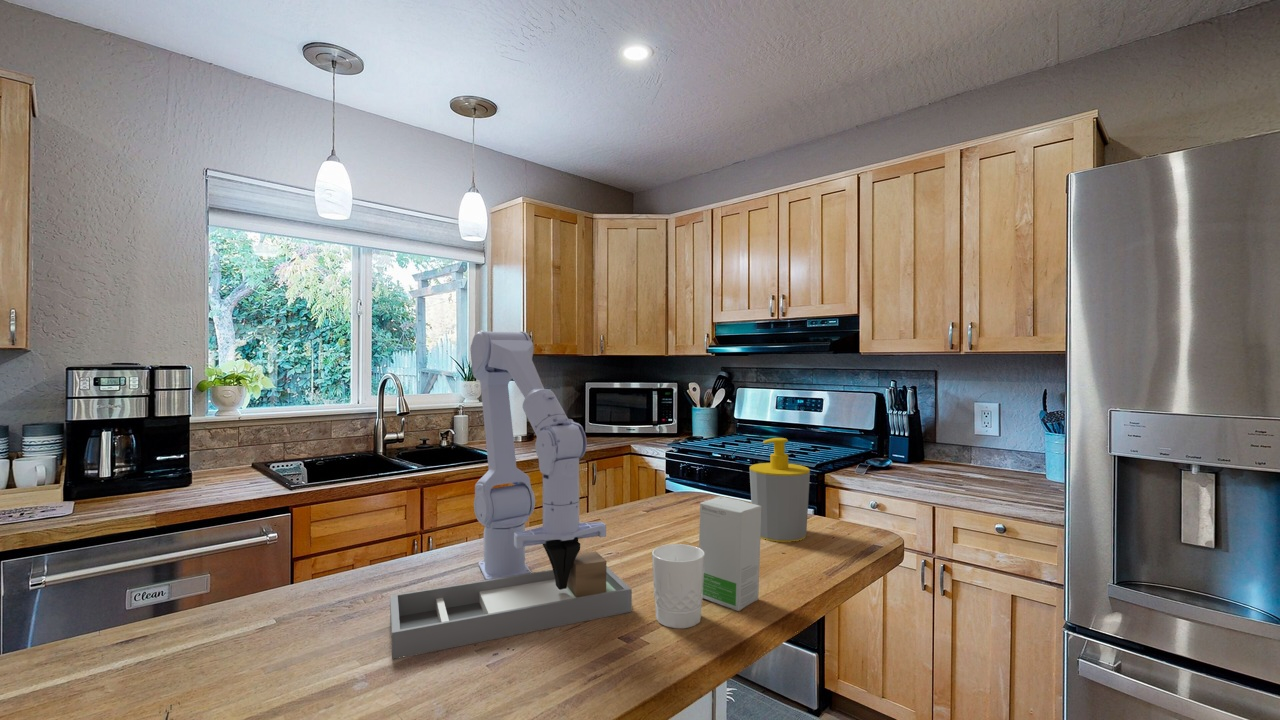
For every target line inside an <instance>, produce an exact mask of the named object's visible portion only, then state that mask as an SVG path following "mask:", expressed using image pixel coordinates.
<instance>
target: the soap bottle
mask: <svg viewBox="0 0 1280 720" xmlns="http://www.w3.org/2000/svg"><path fill="white" fill-rule="evenodd" d="M787 442H789V440H788V439H787V438H786V437H785V438H784V437H772V438H768V439H765V440H763V441H762V443H763V444H771V443H772V444H773V453H770V456H769V458H770V462H763V463H762V462H759V463H755V464H752V465H750V466H749V483H750V484H749V485H750V499H751V500H750V503H751V504H755V505H759V506H761V534H760V539H761V538H762V539H761V540H764V539H766V540H765V541H768V540H769V541H770V542H774V541H776V542H775V543H792V542H791V541H796V542H799V540H800V541H803V540H805V539H804V538H806V537H807V531H808V510H809V496H810V495H809V494H810V480H811V479H810V477H811V475H810V474H811V470H810V468H809V467H808V466H807V467H806V466H805V465H801V464H795V463H789V455H788V454H787V453H785V451H786V449H785V448H786V447H785V446H786V445H785V443H787ZM802 539H803V540H802ZM769 541H768V542H769Z"/></svg>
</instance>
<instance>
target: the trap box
mask: <svg viewBox="0 0 1280 720" xmlns="http://www.w3.org/2000/svg"><path fill="white" fill-rule="evenodd" d="M632 591H633V590H632V588H631V587H630V586H629V585H627V583H626V582H625V581H624V580H622V578H620V576H619V575H617V574H616V573H614V571H612V570H611V569H610V568H609V567H608V566H607V565H606V592H605V593H600V594H594V595H588V596H582V597H575V596H574V594H573V593H572V592H571V591H570V589H569V588H568V587H567V588H566V589H561V590H559V589H558V587H557V586H556V582H555V576H554V572H553V569H548V570H542V571H536V572H531V573H528V574H522V575H515V576H509V577H503V578H496V579H490V580H486V579H484V580H479V581H472V582H467V583H466V582H465V583H459V584H454V585H453V584H452V585H447V586H440V587H434V588H429V589H421V590H414V591H408V592H402V593H397V594H396V593H394V594H390V597H389V598H390V600H389V601H390V602H389V605H390V608H389V611H390V613H389V614H390V616H389V617H390V621H389V622H390V640H391V641H390V642H391V643H390V644H391V660H392V659H393V660H395V659H394V658H398V659H400V658H399V657H403V656H408V657H411V655H413V656H417V655H416V654H418V655H422V654H427V653H432V652H437V651H443V650H447V649H452V648H456V647H462V646H467V645H471V644H472V645H473V644H478V643H482V642H488V641H493V640H498V639H502V638H507V637H513V636H517V635H522V634H527V633H531V632H538V631H543V630H547V629H553V628H557V627H562V626H563V627H564V626H567V625H571V624H577V623H581V622H587V621H593V620H597V619H603V618H607V617H612V616H617V615H623V614H627V613H632V609H633V608H632V607H633V606H632V605H633V604H632V600H633V599H632V597H633V596H632ZM403 658H404V657H403Z"/></svg>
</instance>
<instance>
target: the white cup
mask: <svg viewBox="0 0 1280 720" xmlns="http://www.w3.org/2000/svg"><path fill="white" fill-rule="evenodd" d="M651 557H652V559H651V560H652V579H653V580H652V581H653V591H654V593H653V594H654V601H655V619H656V620H657V622H658V623H659V624H661V625H662V626H664V627H666V628H667V627H668V628H673V629H689V628H692V627H695V626H696V625H698V624H699V623H700V622H701V617H702V603H703V599H704V598H703V583H704V559H705V553H704V551H703V550H702V549H700V548H699V546H695V545H690V544H683V543H682V544H681V543H671V544H670V543H669V544H663V545H660V546H657V547H655V548H654V549H653V550H652V552H651Z"/></svg>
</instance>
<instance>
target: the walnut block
mask: <svg viewBox="0 0 1280 720" xmlns="http://www.w3.org/2000/svg"><path fill="white" fill-rule="evenodd" d="M606 566H607V560H606V559H605V558H604V557H603V556H602V555H601V554H599V552H598V551H596V550H595V551H590V552H588V551H587V552H582V553H580V552H579V553H578V554H577V556H576V558H575V560H574V563H573V565H572V568H571V571H570V574H569V578H568V582H567V587H568V588H569V589H570V591H571V592H572V593H573V594H574V596H575V597H582V596H588V595H594V594H600V593H605V592H606Z"/></svg>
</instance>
